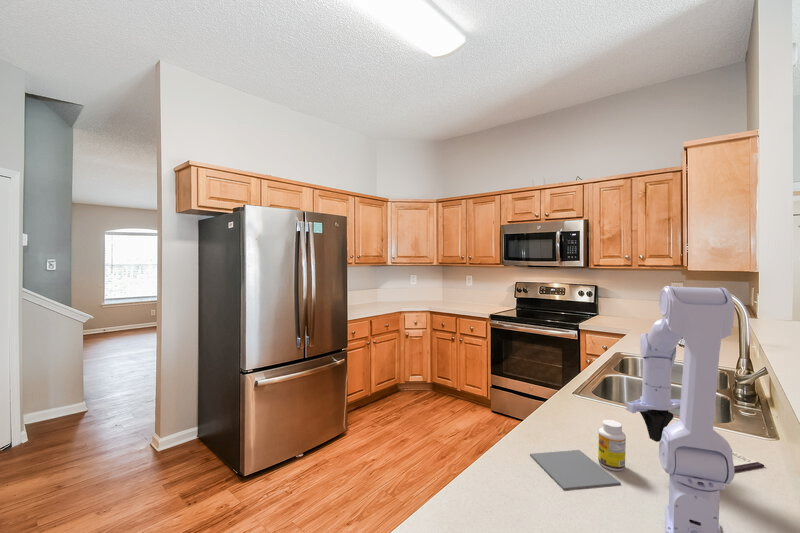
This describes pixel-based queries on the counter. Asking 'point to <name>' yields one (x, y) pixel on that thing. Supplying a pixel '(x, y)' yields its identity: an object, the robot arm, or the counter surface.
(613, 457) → the supplement bottle
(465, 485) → the counter surface
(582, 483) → the mat
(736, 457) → the chocolate bar
